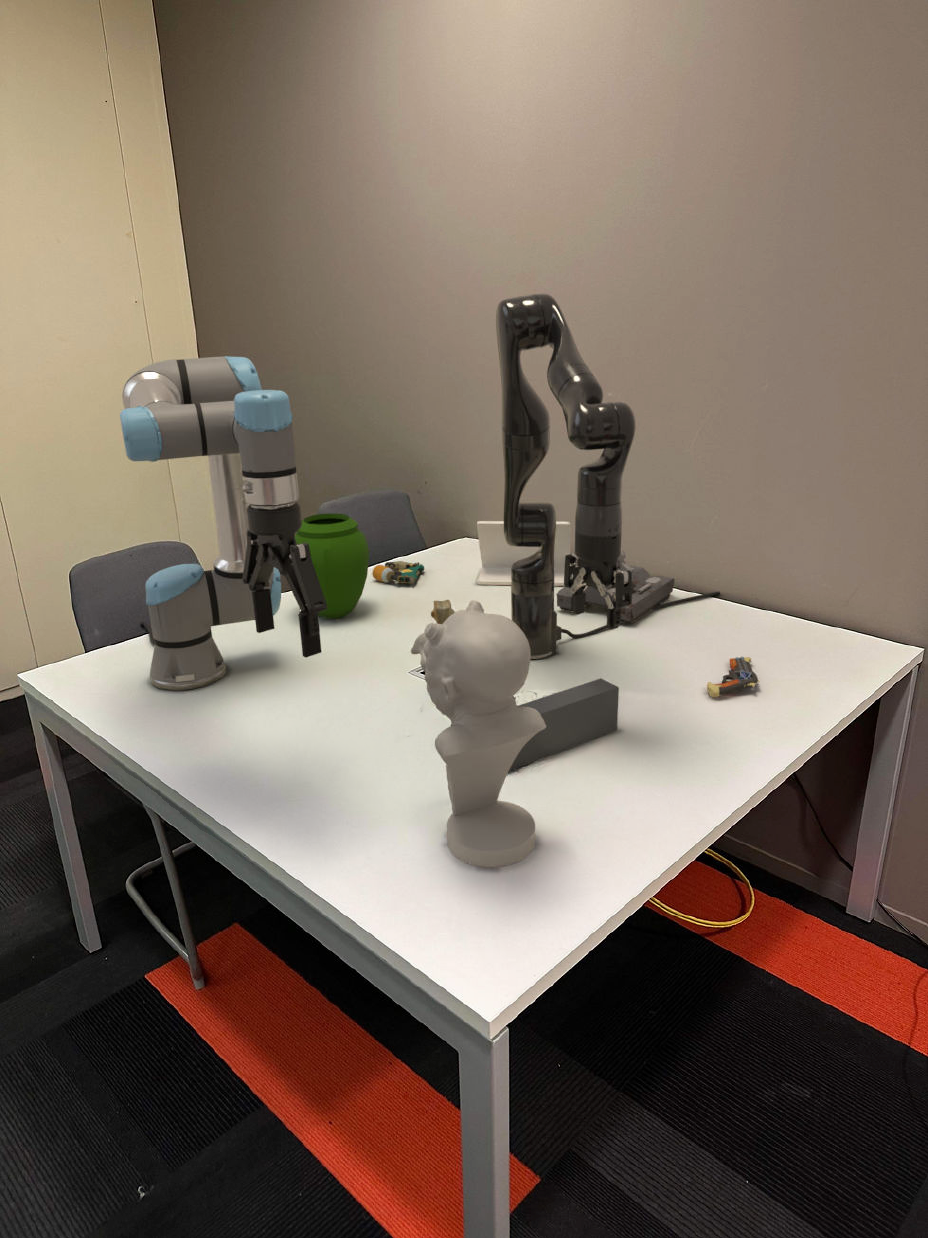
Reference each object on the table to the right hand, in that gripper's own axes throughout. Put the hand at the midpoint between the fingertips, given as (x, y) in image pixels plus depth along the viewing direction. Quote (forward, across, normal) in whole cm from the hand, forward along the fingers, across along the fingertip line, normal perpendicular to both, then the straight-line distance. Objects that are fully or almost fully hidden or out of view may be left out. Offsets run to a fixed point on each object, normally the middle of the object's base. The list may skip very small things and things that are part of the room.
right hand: (595, 620), depth 145 cm
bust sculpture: (+21, +13, -35) cm, 43 cm away
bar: (+21, 0, -8) cm, 23 cm away
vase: (+22, -84, -11) cm, 88 cm away
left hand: (-4, -13, -50) cm, 52 cm away
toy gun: (+22, 0, +36) cm, 42 cm away
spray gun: (+23, -100, +18) cm, 104 cm away
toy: (+22, -47, +49) cm, 71 cm away
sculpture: (+22, -38, -7) cm, 45 cm away
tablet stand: (+23, -80, +46) cm, 95 cm away
